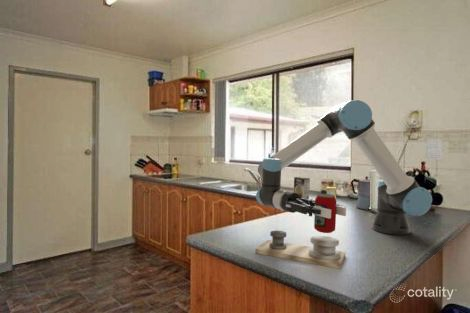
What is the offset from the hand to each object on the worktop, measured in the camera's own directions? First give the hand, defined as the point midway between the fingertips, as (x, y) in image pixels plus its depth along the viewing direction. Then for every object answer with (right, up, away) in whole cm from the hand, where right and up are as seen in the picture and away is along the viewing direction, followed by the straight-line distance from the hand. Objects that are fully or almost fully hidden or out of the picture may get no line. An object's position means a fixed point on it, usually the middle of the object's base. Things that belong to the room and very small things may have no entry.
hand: (337, 212), depth 99 cm
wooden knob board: (-10, -16, +8) cm, 21 cm away
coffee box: (+13, -13, +117) cm, 118 cm away
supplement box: (+31, -14, +108) cm, 113 cm away
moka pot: (+47, -14, +95) cm, 107 cm away
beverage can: (-3, -7, +4) cm, 9 cm away
